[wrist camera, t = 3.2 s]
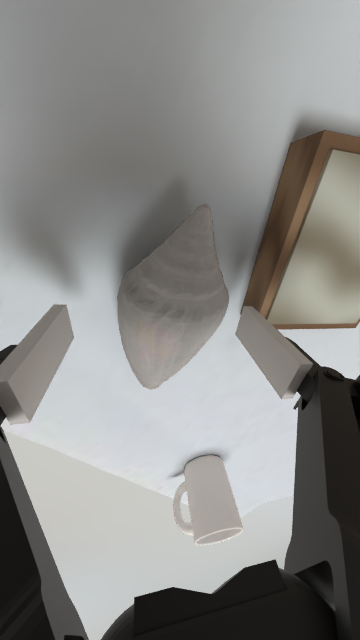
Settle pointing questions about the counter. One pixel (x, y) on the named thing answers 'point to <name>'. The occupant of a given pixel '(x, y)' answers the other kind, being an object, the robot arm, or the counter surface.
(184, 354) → the seashell
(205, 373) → the counter surface
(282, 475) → the counter surface
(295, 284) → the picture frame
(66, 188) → the counter surface
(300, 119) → the counter surface
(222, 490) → the mug
